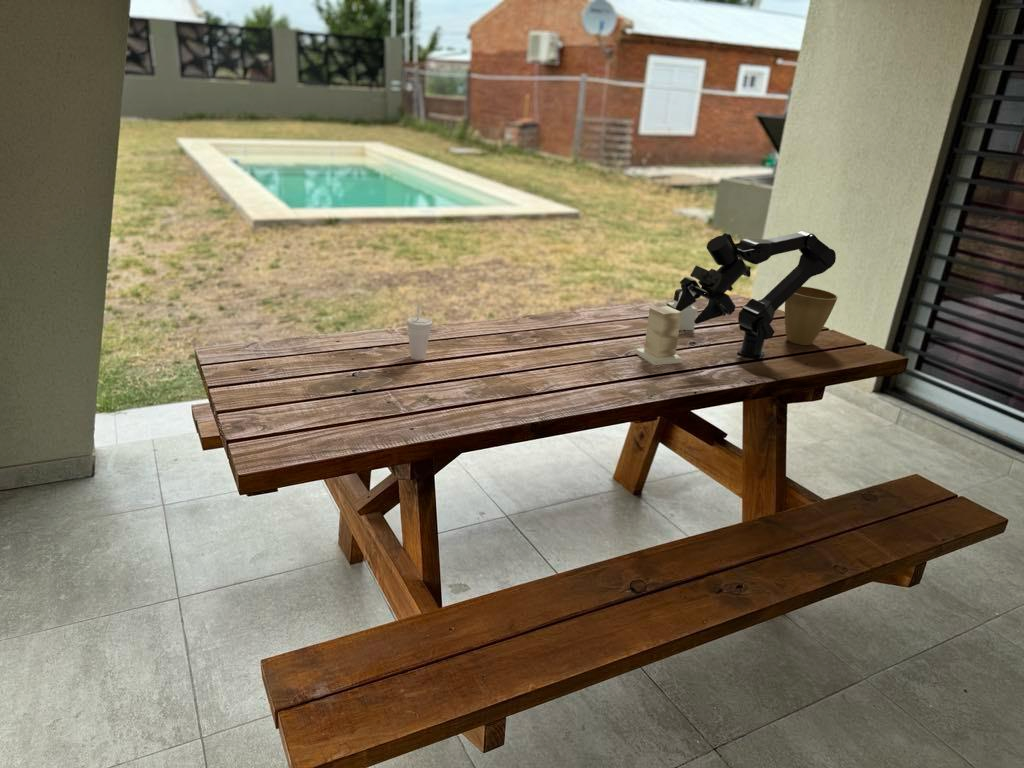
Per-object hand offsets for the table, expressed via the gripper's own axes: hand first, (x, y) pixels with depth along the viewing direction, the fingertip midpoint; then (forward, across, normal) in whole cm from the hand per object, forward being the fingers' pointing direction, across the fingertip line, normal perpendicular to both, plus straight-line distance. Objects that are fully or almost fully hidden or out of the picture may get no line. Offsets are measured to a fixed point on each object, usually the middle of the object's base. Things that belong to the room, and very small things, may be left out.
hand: (684, 317), depth 200 cm
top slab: (+13, 0, +3) cm, 13 cm away
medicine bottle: (-4, -25, +22) cm, 34 cm away
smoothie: (+58, -13, -42) cm, 73 cm away
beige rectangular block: (+11, 0, +2) cm, 11 cm away
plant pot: (-27, -7, +45) cm, 53 cm away
